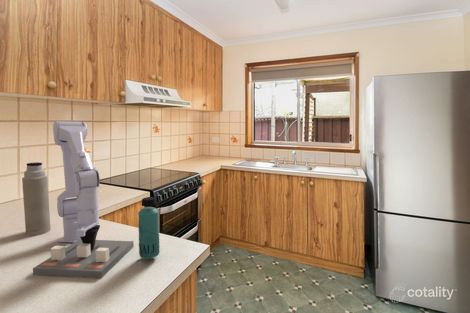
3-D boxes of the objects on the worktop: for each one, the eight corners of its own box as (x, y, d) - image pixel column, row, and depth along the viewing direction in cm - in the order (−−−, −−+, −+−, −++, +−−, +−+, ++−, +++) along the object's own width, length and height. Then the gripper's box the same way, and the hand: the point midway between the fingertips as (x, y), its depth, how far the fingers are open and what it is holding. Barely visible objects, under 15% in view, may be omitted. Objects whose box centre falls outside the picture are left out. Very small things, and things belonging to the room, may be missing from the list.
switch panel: (79, 244, 94) (78, 229, 93) (133, 246, 93) (133, 231, 92) (33, 275, 74) (32, 256, 74) (101, 278, 73) (100, 259, 72)
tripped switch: (81, 254, 82) (81, 243, 82) (90, 254, 82) (90, 243, 81) (77, 257, 80) (76, 246, 80) (86, 257, 80) (86, 246, 80)
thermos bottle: (20, 235, 101) (15, 164, 98) (34, 228, 109) (29, 161, 106) (43, 235, 102) (38, 164, 99) (54, 227, 110) (50, 161, 107)
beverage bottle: (154, 252, 89) (152, 194, 87) (164, 259, 84) (163, 198, 82) (135, 258, 84) (133, 197, 82) (144, 266, 80) (143, 201, 78)
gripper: (82, 202, 89) (83, 241, 90) (63, 216, 74) (66, 262, 76) (104, 201, 90) (106, 239, 91) (91, 214, 76) (93, 259, 77)
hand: (89, 249), depth 84 cm, fingers closed
